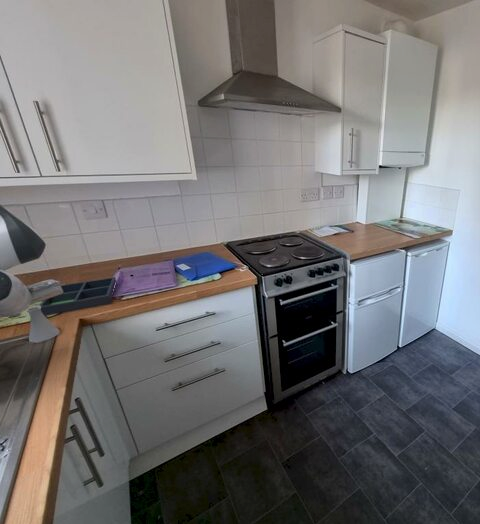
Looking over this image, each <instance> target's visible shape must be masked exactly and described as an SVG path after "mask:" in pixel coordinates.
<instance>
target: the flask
mask: <svg viewBox="0 0 480 524" xmlns="http://www.w3.org/2000/svg"><path fill="white" fill-rule="evenodd" d="M25 311H26V313H28V314H29V318H30V325H29V328H30V329H29V335H28V341H29V343H36V344H39V343H42V342H45V341H48V340H51V339H53V338H54V337H57V336H58V335H60V334H61V331H60V329H59V328H58V327H57V326H56V325H55V324H53V323H52V322H51V320H49V319H48V318H47V317H46V316H44V315H43V313H42V312H41V306H39V305H35V306H29V307H28V308H27V309H25Z"/></svg>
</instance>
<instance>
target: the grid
mask: <svg viewBox="0 0 480 524" xmlns="http://www.w3.org/2000/svg"><path fill="white" fill-rule="evenodd" d="M115 282H116V285H115ZM114 285H115V288H114ZM60 286H61V288H62V289H63V291H64V292H63V293H62V294H60V295H57V296H54V297H51V298H48V299H46V300H44V301H41V303H39V305H38V306H41V312H42V313H43V315H44V316H45V317H46V316H51V315H57V314H63V313H66V312H67V313H68V312H73V311H74V312H75V311H79V310H84V309H85V310H86V309H89V308H95V307H100V306H106V305H111V304H112V300H113V297H114V295H115V293H116V289H117V286H118V283H117V279H116V277H115V276H114V277H113V276H112V277H107V278H101V279H100V278H99V279H93V280H86V281H80V282H73V283H67V284H66V283H65V284H61V285H60ZM113 289H114V291H113ZM112 293H113V294H112Z"/></svg>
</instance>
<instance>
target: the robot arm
mask: <svg viewBox="0 0 480 524" xmlns="http://www.w3.org/2000/svg"><path fill="white" fill-rule="evenodd" d="M46 246H47V243H46V242H45V240H44V238H43V236H42V235H41V234H40V233H39V232H38V231H37V230H36V229H35V228H33V227H32V226H30V225H29V224H27V223H25V222H24V221H22V220H21V219H20V218H18V217H17V216H16V215H14V214H13V213H11V212H10V211H9V210H8V209H6V208H5V207H4V206H2V205H1V204H0V319H1V318H8V317H13V316H17V315H19V314H21V313H23V312H24V311H26V309H28V308H29V307H30V306H31V305H34V304H36V303H40V302H41V303H42V301H44V300H46V299H48V298H51V297H54V296H57V295H60V294H62V293H63V292H64V291H63V289H62V288H61V286H60V285H62V282H61V281H60V280H55V279H46V280H42V281H39V282H36V283H33V284H29V285H25V284H24V283H23V282H22V281H21V279H19V278H18V277H17V276H16V275H14V274H12V273H10V272H8V271H7V270H9V269H12V268H14V267H16V266H19V265H23V264H26V263H29V262H32V261H35V260H38V259H40V258H41V256H42V255H43V253H44V251H45V249H46Z"/></svg>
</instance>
